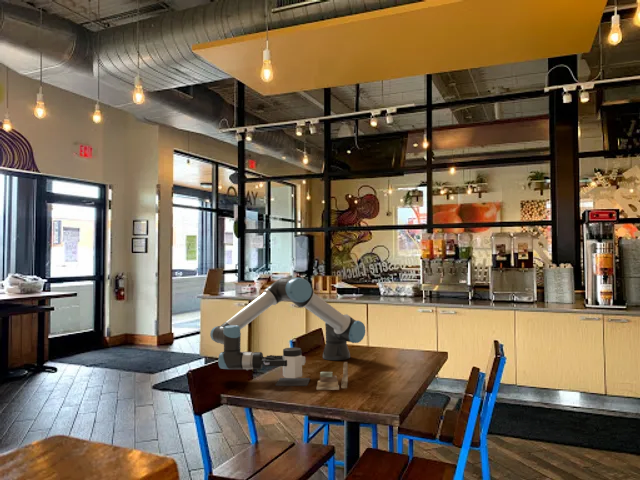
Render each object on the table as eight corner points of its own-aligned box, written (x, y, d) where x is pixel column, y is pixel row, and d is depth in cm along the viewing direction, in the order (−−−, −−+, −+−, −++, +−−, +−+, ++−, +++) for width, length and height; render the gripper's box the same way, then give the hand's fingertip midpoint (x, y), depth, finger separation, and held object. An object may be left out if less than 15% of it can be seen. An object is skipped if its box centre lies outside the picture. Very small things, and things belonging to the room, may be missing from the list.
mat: (275, 385, 208) (275, 384, 208) (279, 379, 219) (279, 377, 219) (307, 385, 206) (307, 384, 206) (310, 379, 218) (310, 377, 218)
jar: (303, 377, 208) (303, 350, 209) (285, 379, 206) (285, 351, 207) (298, 373, 217) (298, 346, 218) (281, 374, 215) (281, 347, 215)
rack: (316, 389, 200) (316, 370, 200) (319, 379, 217) (319, 361, 217) (346, 389, 199) (346, 370, 199) (347, 379, 216) (347, 361, 216)
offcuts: (317, 386, 200) (317, 373, 200) (318, 385, 203) (317, 371, 203) (337, 386, 199) (337, 373, 200) (338, 385, 202) (337, 371, 203)
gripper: (257, 365, 223) (306, 365, 221) (249, 373, 206) (302, 373, 204) (257, 348, 223) (306, 348, 222) (248, 356, 206) (302, 356, 205)
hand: (304, 360), depth 213 cm, fingers closed on jar, 4 cm apart
